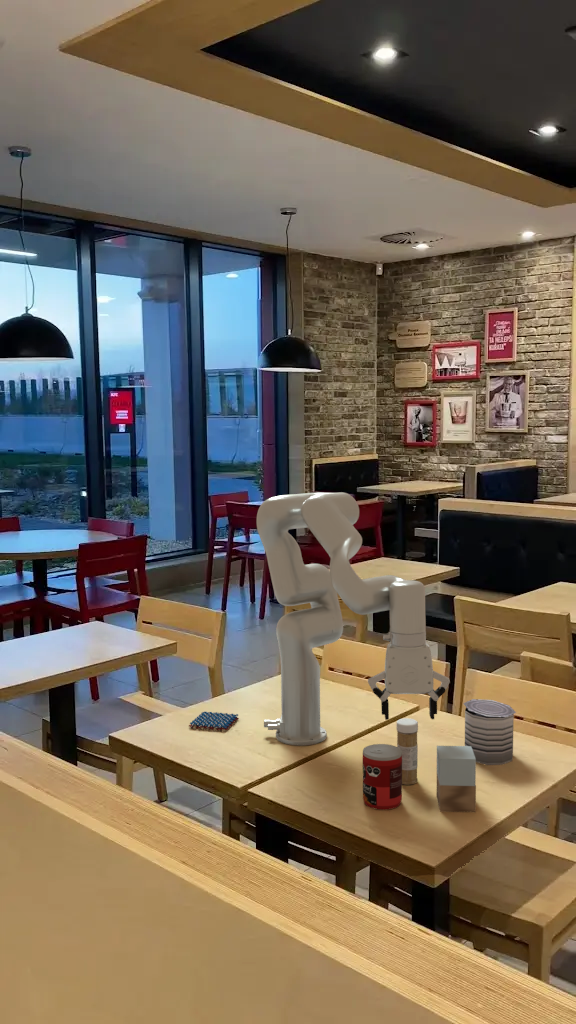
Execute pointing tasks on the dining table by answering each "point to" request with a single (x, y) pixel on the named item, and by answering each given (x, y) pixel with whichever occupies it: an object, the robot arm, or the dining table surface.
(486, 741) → the can
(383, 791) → the canned food
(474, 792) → the tower base slab
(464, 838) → the dining table surface
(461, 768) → the pale grey-blue cube
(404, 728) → the sprinkles bottle
